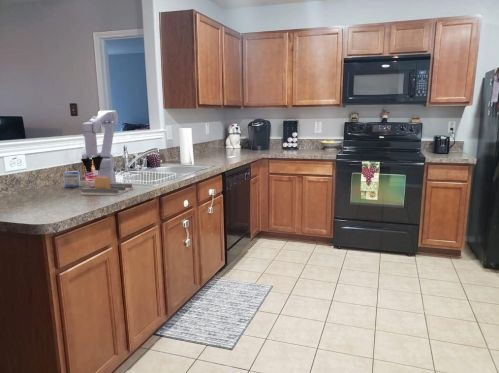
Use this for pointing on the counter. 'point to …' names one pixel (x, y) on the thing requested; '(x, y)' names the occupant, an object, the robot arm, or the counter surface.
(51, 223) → the counter surface
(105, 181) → the orange block
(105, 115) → the robot arm
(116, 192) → the slot rack
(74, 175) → the medicine box
